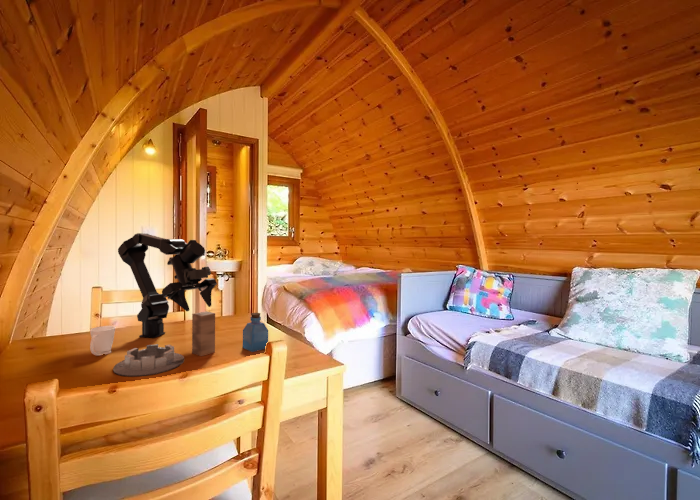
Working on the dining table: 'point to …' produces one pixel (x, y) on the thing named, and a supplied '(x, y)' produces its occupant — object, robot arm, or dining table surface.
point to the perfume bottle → (255, 334)
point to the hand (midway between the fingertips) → (199, 308)
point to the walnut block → (203, 333)
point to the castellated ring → (148, 361)
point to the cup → (102, 339)
